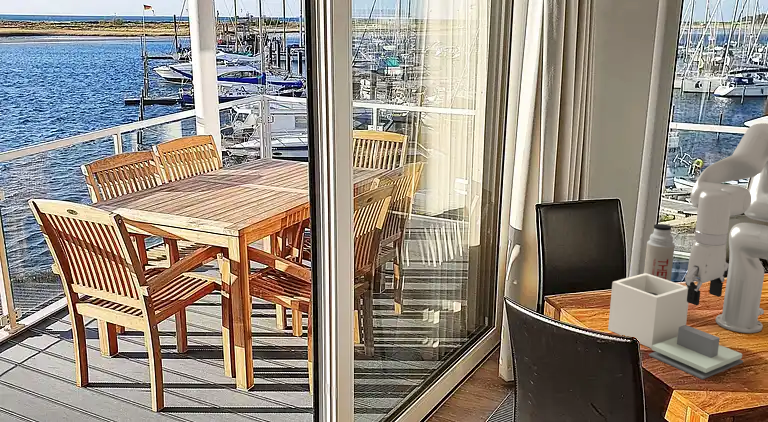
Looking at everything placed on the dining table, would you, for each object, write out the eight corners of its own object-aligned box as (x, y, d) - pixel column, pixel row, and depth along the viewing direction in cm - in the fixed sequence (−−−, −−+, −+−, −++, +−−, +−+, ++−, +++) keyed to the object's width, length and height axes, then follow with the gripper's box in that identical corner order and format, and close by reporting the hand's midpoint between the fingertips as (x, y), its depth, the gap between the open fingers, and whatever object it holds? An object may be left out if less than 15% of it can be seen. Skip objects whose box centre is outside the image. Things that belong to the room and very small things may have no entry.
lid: (687, 339, 196) (690, 316, 194) (741, 361, 183) (744, 336, 181) (651, 352, 187) (654, 328, 185) (705, 376, 174) (708, 350, 172)
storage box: (640, 319, 211) (645, 273, 208) (684, 336, 199) (690, 287, 195) (608, 329, 203) (612, 281, 200) (651, 348, 191) (656, 297, 188)
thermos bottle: (667, 316, 213) (676, 230, 206) (639, 313, 216) (648, 227, 209) (667, 307, 220) (676, 223, 214) (640, 304, 223) (649, 221, 217)
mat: (689, 340, 196) (689, 339, 196) (743, 362, 183) (743, 360, 183) (648, 355, 187) (648, 353, 187) (702, 379, 174) (702, 377, 174)
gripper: (717, 228, 184) (710, 287, 189) (677, 240, 175) (671, 302, 180) (744, 235, 178) (736, 296, 183) (704, 247, 169) (697, 311, 174)
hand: (704, 299), depth 181 cm, fingers open, 9 cm apart
